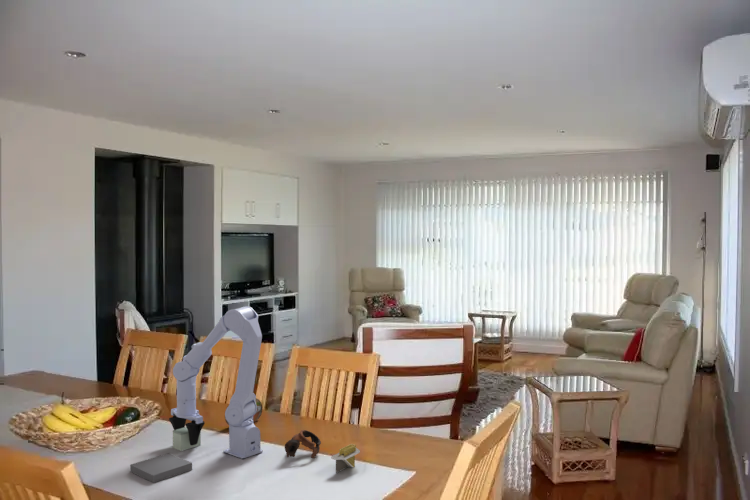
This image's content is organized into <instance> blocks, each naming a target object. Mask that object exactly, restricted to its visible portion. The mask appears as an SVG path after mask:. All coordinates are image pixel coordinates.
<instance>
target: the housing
mask: <svg viewBox="0 0 750 500" xmlns="http://www.w3.org/2000/svg"><path fill="white" fill-rule="evenodd" d="M201 433H202V432H200V435H199V438H198V443H197V444H195V445H190V441H189V433H188V429H187V427H186V426H185V427H184V428H180V429H177V430H174V429H173V430H172V449H175V450H177V451H180V452H183V451H186V450H189V449H192V448H195V447H199V446H201V445H202V444H201V437H202V435H201Z"/></svg>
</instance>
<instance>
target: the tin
mask: <svg viewBox="0 0 750 500" xmlns="http://www.w3.org/2000/svg"><path fill="white" fill-rule="evenodd" d="M256 405H257V411H256V413H255V415H253V423H255V422H256V421H258V420H259V419H260V418H261V416H262V413H263V403H262V402H261V400H260V399H259V398H257V397H256ZM226 409H227V407H226ZM226 409H225V410H226ZM224 420H225V421H224V422H225V423H226V424H227V425H228V426H229V423H228V422H227V420H226V418H225V417H224Z"/></svg>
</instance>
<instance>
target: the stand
mask: <svg viewBox="0 0 750 500" xmlns="http://www.w3.org/2000/svg"><path fill="white" fill-rule="evenodd" d="M129 467H130V469H129V471H130V473H132V474H134V475H136V476H139V477H140V478H143V479H145V480H147V481H148V482H150V483H153V484H154V483H156V482H160V481H162V480H163V481H164V480H165V479H168V478H172V477H175V476H177V475H178V476H179V475H180V474H183V473H187V472H190V471H192V470H193V462H191V461H189V460H187V459H184V458H181V457H179V456H177V455H174V454H172V453H170V452H168V453H165V454H161V455H158V456H154V457H151V458H148V459H144V460H142V461H141V460H140V461H138V462H134V463H132V464H130V465H129Z"/></svg>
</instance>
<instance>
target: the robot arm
mask: <svg viewBox="0 0 750 500" xmlns="http://www.w3.org/2000/svg"><path fill="white" fill-rule="evenodd" d="M230 331H231V332H232V333H234V334H235V335H236V336H238V337H239V338H240V340H241V341H242V346H241V354H240V359H239V365H238V372H237V376H236V377H237V378H236V384H235V389H234V390H235V391H234V392H233V394H232V396H231V398H230V400H229V404H228V406H227V407H226V408H227V409H225V411H224V419H225V418H226V420H227V422H228V423H229V425H228V426H229V427H228V433H229V434H228V437H229V438H228V440H229V441H228V442H229V445H228V447H229V448H226V449H223V453H226V454H229V455H231V456H234V457H237V458H239V459H246V458H249V457H252V456H254V455H257V454H261V453H263V450H262V449H261V430H260V428H259V427H257V426H256V425H255V424H254V423H255V422H253V415H255V413H256V411H257V405H256V398H257V396H256V394H255V393H254V389H255V381H256V376H257V370H258V365H259V364H258V363H259V359H260V352H261V345H262V339H263V334H262V330H261V327H260V324H259V314H258V313H257V312H256V310H254V309H253V307H251V306H249V305H244V306H242V307H237V308H233V309H228V310H227V311H226V313H225V314H224V315H222V316H221V317H220V319H219V320H218V321H217V323H216V324H215V326H214V327H213V329H211V330H210V332H209V334H208V335H207V336H206V338H204V340H203V341H200V342H196V343H193V344H192V345H191V346H190V347H191V350H189V352H188V353H187V354H186V355H184V356H183V357H182V361H178V362H175V364H174V366H173V368H172V375H173V377H174V378H175V379H176V407H175V408H171V409H170V415H171V417H169V419H168V421H169V422H170V424H171V426H172V428H173V430H177V429H180V428H184V427H187V429H188V433H189V441H190V445H195V444H197V443H198V438H199V435H200V432H201V431H202V429H203V427H204V426H205V421H204V417H203V415H200V412H199V409H197V390H196V389H197V383H196V382H197V376H198V375H199V373H200V368H202V367H203V365H204V364H205V362H207V361H208V360H209V358H210V357H211V356H212V354H213V351H212V348H214V347H215V346H216V345H217V343H218V342H220V340H221V339H222V338H223V337H224V336H225V335H226V334H227V333H228V332H230ZM187 420H188V421H190V422H187ZM186 422H187V423H186ZM201 433H202V432H201Z"/></svg>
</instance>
